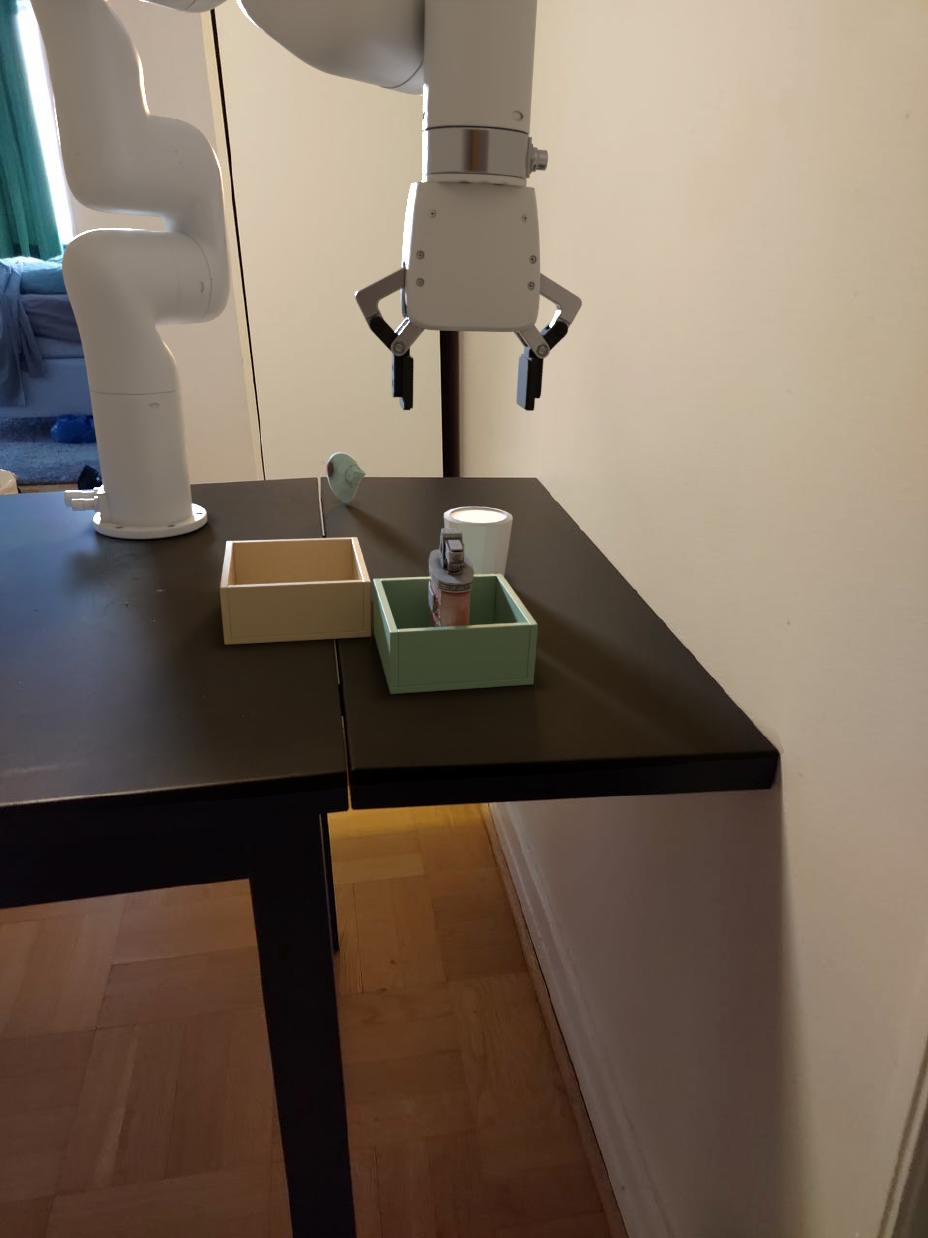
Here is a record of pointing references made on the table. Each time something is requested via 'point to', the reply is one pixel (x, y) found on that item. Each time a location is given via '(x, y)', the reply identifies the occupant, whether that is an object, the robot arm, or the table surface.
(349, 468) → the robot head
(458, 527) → the white round tub
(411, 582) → the green bin
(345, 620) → the beige bin
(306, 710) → the table surface
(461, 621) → the lighter
